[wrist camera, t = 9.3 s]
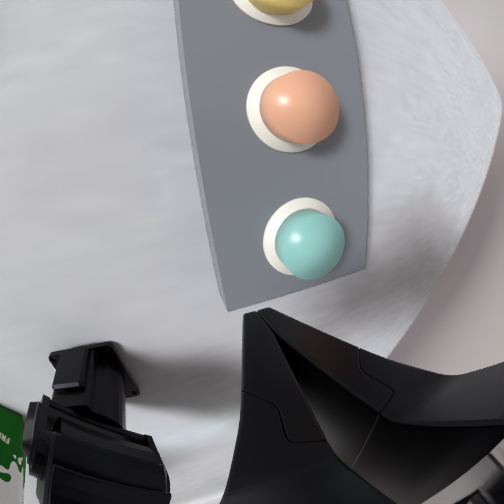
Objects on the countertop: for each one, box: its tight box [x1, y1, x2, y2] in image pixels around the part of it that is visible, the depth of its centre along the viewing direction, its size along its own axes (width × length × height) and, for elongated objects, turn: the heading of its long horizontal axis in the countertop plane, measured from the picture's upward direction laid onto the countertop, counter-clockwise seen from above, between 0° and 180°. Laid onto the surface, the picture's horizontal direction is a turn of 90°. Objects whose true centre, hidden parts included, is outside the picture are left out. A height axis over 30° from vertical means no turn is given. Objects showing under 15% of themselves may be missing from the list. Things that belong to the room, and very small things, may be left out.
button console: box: [174, 0, 368, 312], centre depth 15 cm, size 24×11×3 cm, turn 7°
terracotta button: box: [259, 70, 340, 144], centre depth 13 cm, size 4×4×2 cm
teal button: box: [275, 208, 345, 280], centre depth 17 cm, size 4×4×2 cm
